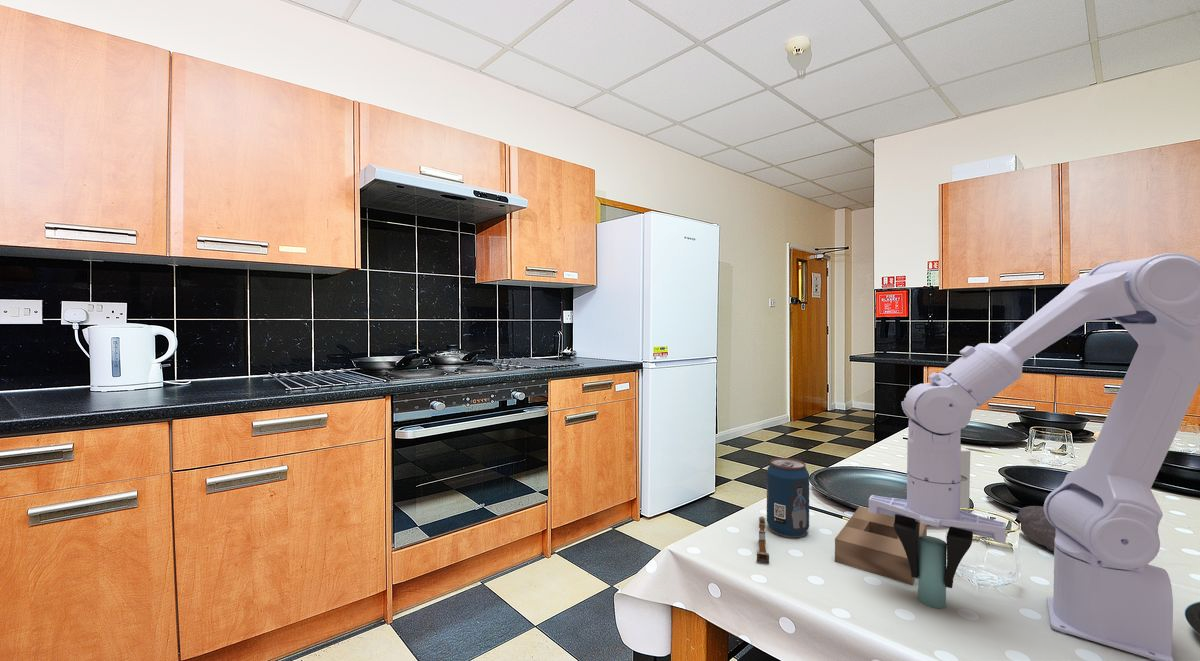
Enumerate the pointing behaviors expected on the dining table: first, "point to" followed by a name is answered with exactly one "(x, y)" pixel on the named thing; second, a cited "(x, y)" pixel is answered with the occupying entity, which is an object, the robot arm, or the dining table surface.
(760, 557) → the brown long banded part
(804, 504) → the soda can
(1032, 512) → the perforated stone tool
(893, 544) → the hole block
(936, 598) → the peg
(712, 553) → the dining table surface
